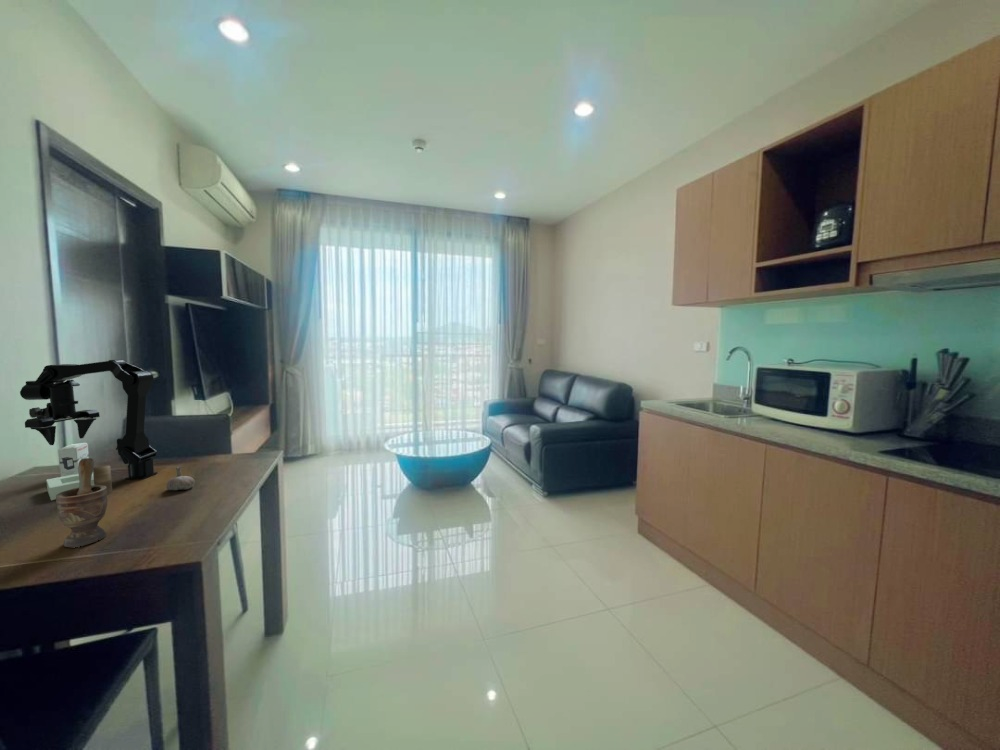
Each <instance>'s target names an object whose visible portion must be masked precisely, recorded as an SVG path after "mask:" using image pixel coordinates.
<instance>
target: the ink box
mask: <svg viewBox="0 0 1000 750" xmlns="http://www.w3.org/2000/svg"><path fill="white" fill-rule="evenodd" d="M57 453H58V464H59V473H60V474H59V475H60V477H63V476H69V475H74V474H79V473H78V464H79V462H80V460H82V459H85V458H90V457H89V456H90V455H89V444H88V442H79V443H73V444H71V443H70V444H68V445H65V446H64V447H61V448H58V449H57Z"/></svg>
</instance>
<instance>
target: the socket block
mask: <svg viewBox="0 0 1000 750" xmlns="http://www.w3.org/2000/svg"><path fill="white" fill-rule="evenodd" d="M91 486H94V477H93V473H92V478H91ZM46 487H47V488H46V490H47V493H48V496H49V499H50V501H54V500H56V495H57V494H59V493H61V492H64V491H67V490H70V489H74V488H79V474H74V475H69V476H63V477H61V476H59V477H54V478H48V479H46Z"/></svg>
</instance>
